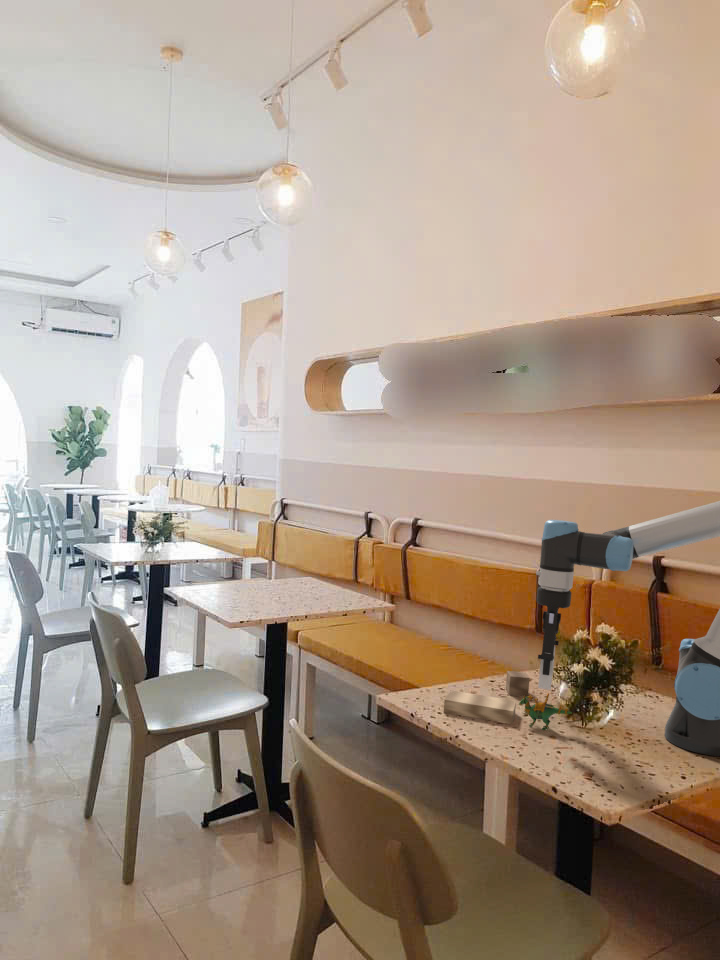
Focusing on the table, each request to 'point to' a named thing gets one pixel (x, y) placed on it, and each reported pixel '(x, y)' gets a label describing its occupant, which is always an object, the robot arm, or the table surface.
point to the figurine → (541, 710)
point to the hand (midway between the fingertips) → (545, 680)
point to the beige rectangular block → (480, 706)
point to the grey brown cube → (517, 683)
